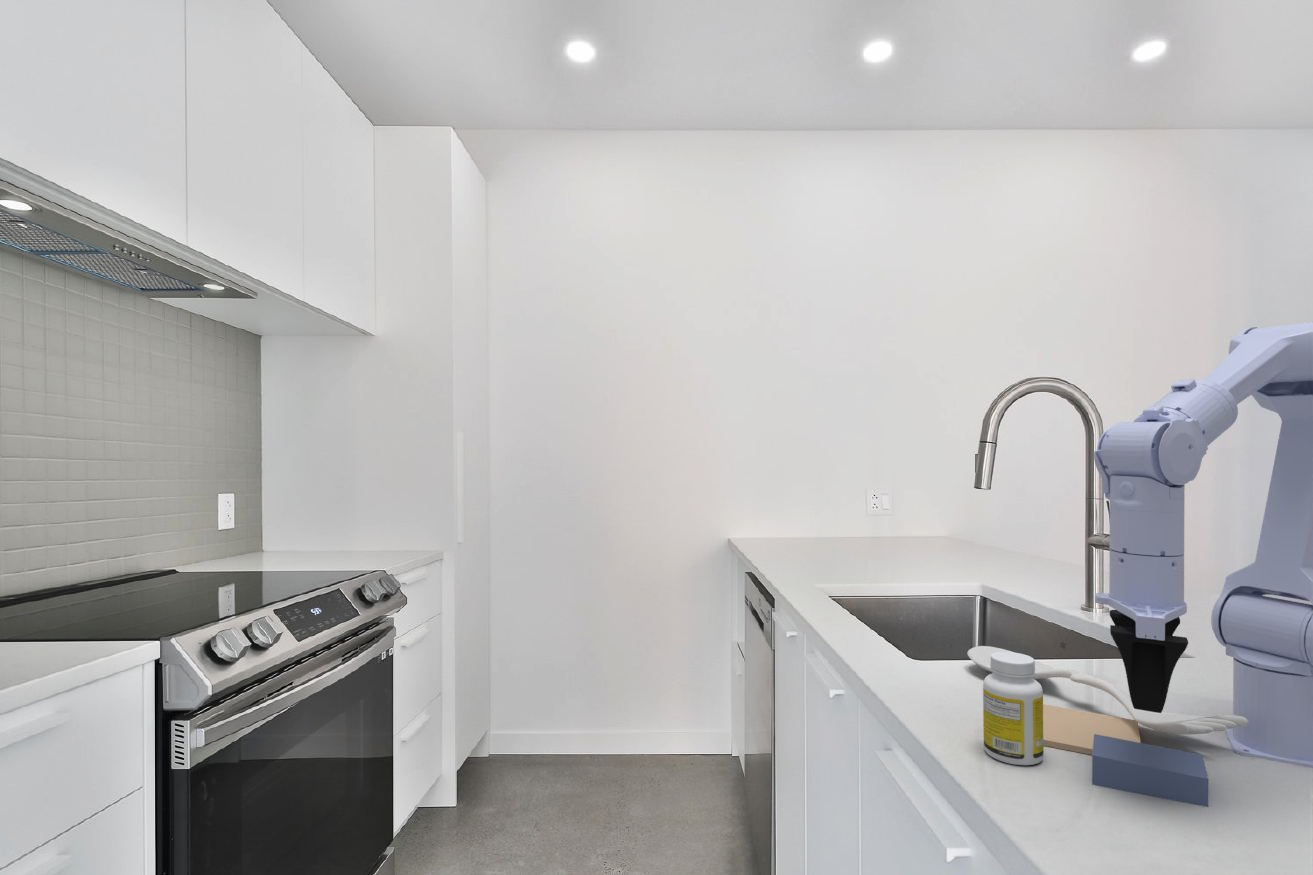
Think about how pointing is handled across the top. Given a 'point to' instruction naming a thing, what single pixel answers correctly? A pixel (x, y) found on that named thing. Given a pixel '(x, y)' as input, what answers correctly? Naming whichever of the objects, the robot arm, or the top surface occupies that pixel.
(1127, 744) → the card box
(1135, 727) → the flat tan board
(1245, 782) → the top surface
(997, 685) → the supplement bottle
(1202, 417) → the robot arm
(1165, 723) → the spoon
